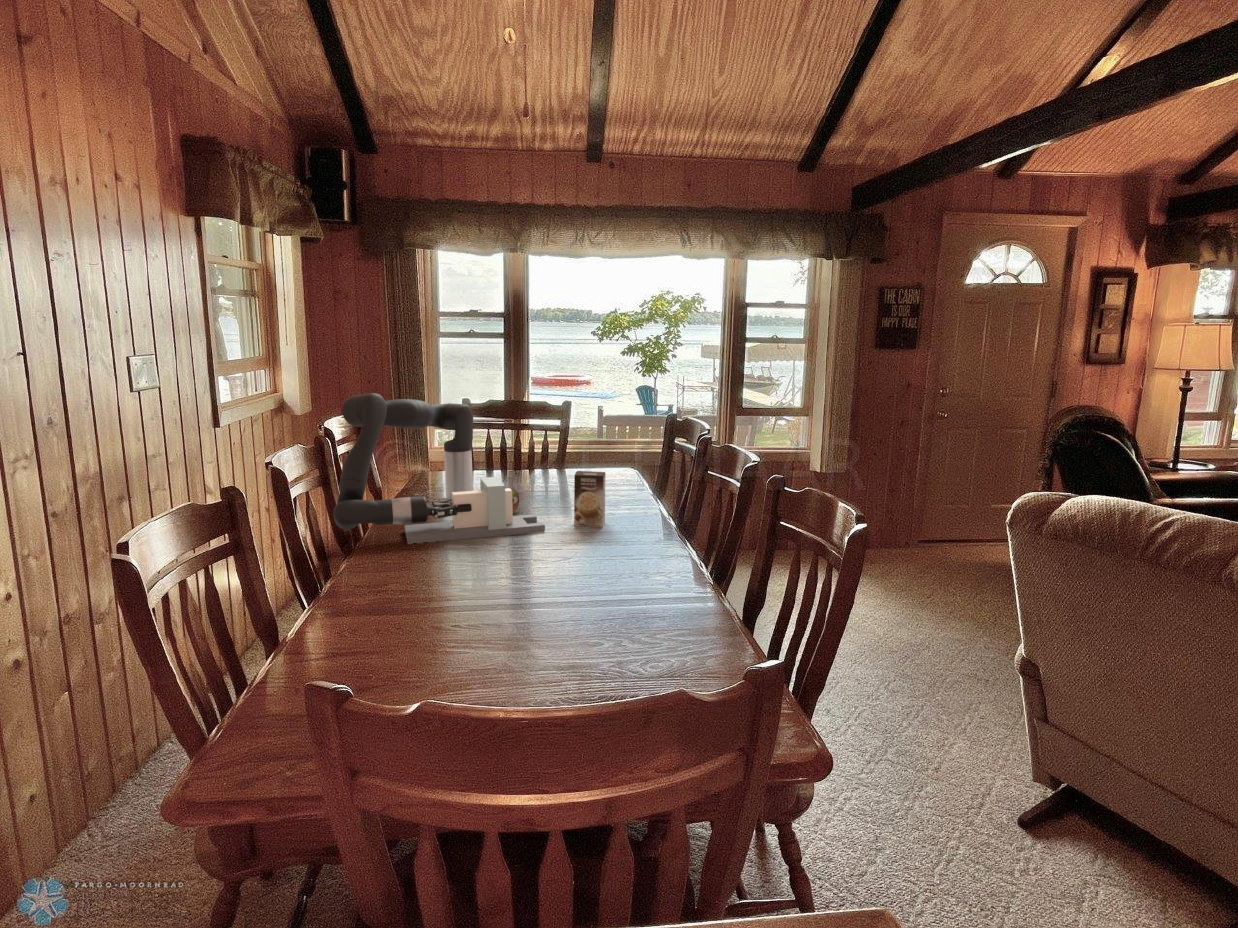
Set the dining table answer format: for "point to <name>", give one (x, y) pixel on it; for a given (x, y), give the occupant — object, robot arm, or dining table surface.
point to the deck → (469, 530)
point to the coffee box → (589, 499)
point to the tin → (515, 500)
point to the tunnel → (495, 502)
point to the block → (478, 508)
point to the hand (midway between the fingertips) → (469, 505)
